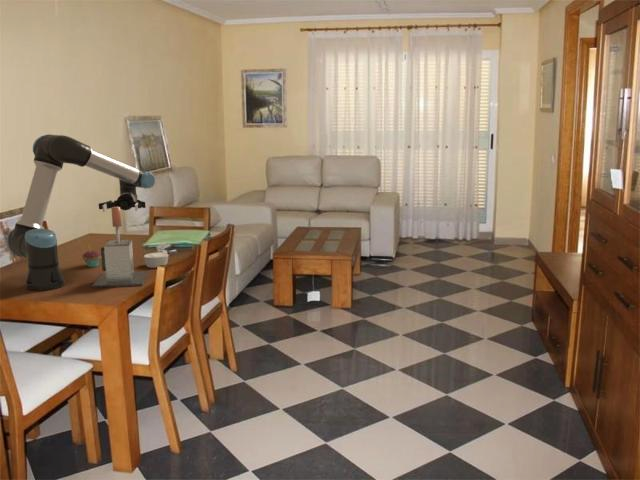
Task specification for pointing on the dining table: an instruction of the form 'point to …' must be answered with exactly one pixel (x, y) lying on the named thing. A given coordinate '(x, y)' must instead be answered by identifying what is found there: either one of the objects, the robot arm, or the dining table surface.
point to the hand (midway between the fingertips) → (119, 208)
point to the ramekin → (156, 259)
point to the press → (118, 266)
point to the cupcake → (91, 257)
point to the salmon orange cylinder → (116, 221)
